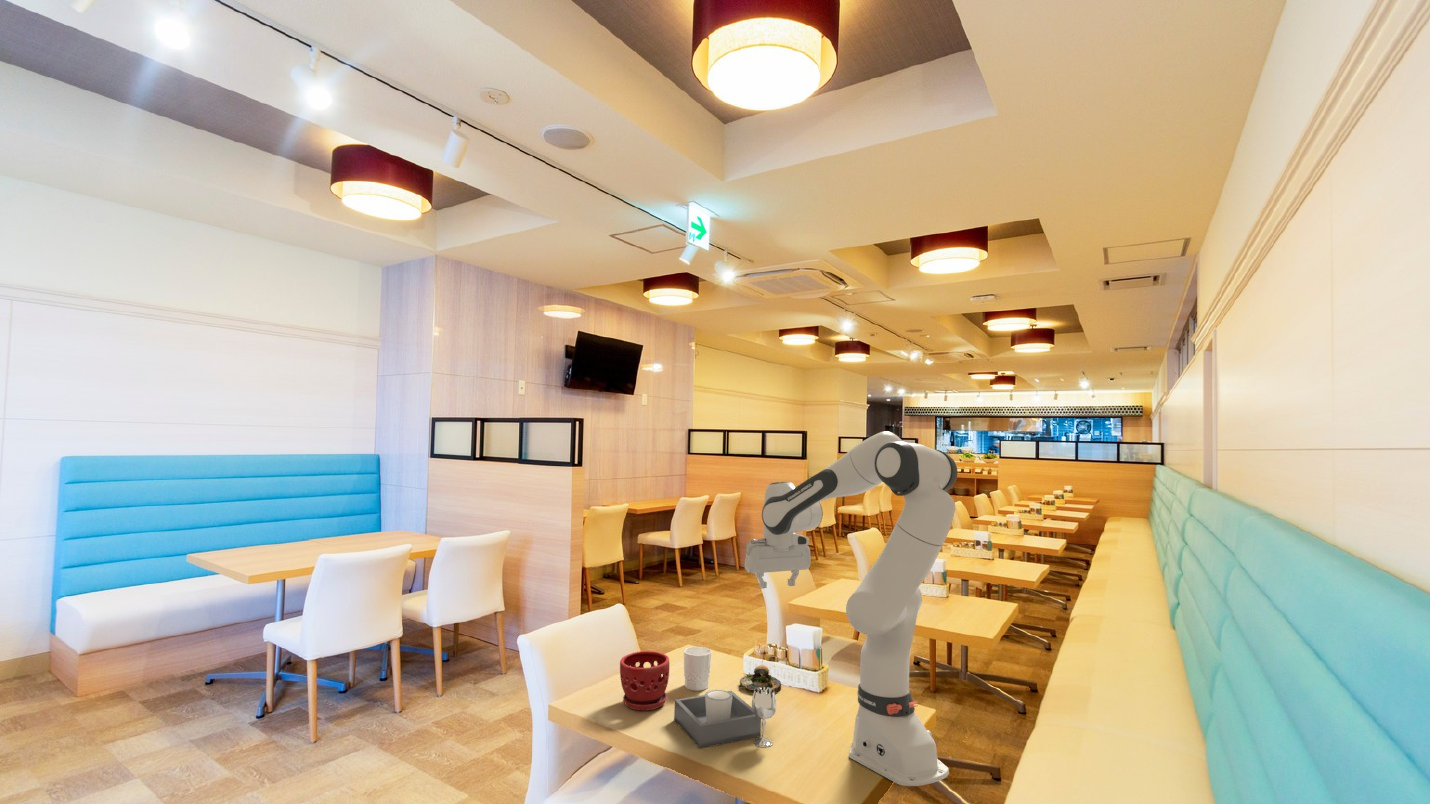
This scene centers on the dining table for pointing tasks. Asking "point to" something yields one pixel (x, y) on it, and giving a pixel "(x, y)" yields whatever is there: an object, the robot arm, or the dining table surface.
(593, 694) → the dining table surface
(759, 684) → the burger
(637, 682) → the plant pot
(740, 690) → the dining table surface
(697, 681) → the white cup
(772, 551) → the robot arm
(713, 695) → the small tapered cup
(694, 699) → the bin
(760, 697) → the wineglass
